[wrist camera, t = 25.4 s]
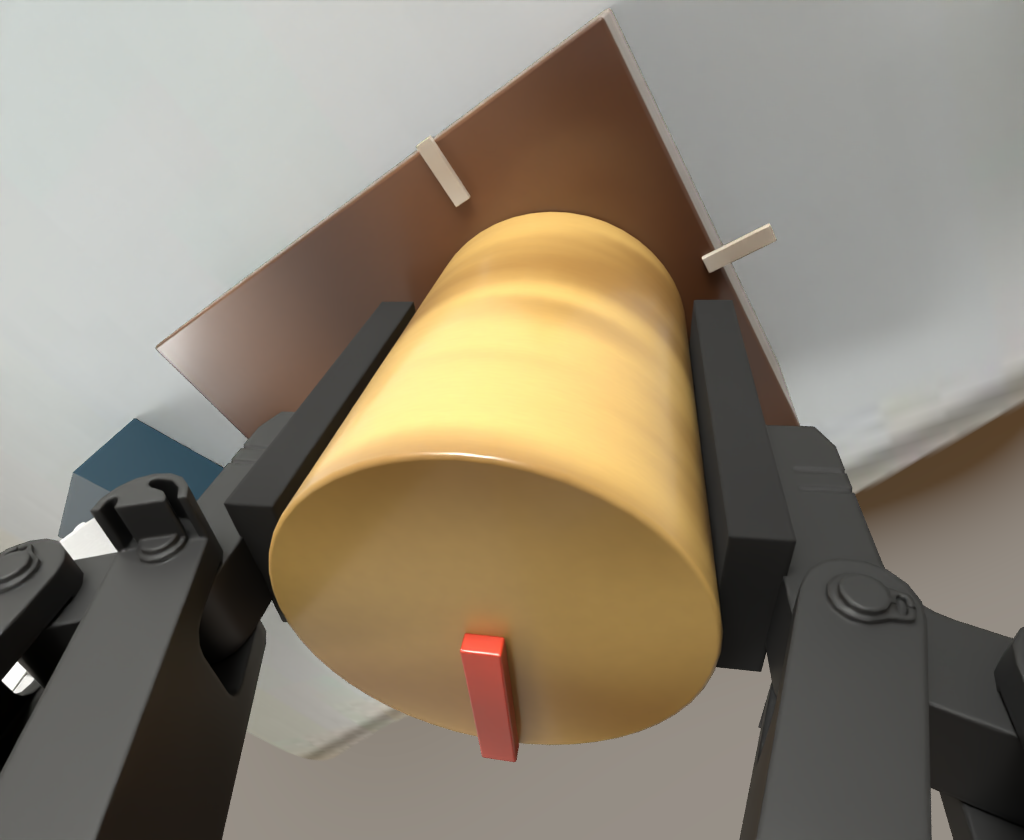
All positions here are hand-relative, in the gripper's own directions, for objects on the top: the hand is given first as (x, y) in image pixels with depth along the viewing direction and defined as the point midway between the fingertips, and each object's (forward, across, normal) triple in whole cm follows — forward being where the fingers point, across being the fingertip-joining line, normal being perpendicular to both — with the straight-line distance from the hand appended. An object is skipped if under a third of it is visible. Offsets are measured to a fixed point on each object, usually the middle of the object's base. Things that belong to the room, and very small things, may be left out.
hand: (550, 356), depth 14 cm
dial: (+1, 0, 0) cm, 1 cm away
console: (+4, -3, -1) cm, 5 cm away
